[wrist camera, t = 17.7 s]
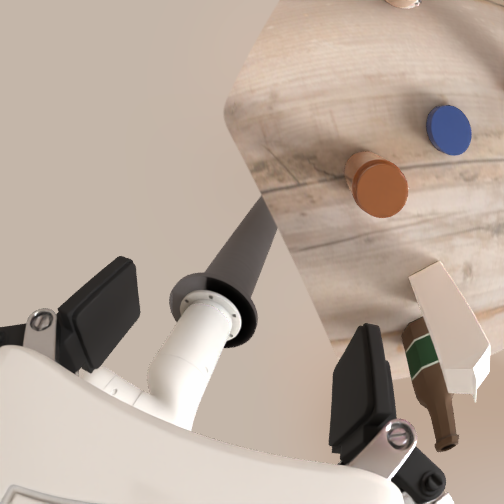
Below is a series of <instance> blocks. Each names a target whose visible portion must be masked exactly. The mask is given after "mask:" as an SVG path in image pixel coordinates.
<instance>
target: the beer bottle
mask: <svg viewBox="0 0 504 504" xmlns="http://www.w3.org/2000/svg"><path fill="white" fill-rule="evenodd" d="M402 340H403V345H404V349H405V353H406V357H407V361H408V366H409V371H410V375H411V380H412V384H413V387H414V391H415V394H416V397H417V399H418V401H419V402H420V404H421V405H423V406H424V407H425V408H427V409H428V411H429V414H430V416H431V420H432V424H433V429H434V433H435V438H436V444H435V448H436V451H437V452H443V451H447V450H449V449H451V448H453V447H454V446H456V445H457V444H458V439H459V435H457V434H456V428H455V420H454V413H453V407H452V397H453V395H454V393H448V390H447V386H446V383H445V379H444V376H443V372H442V369H441V366H440V363H439V359H438V356H437V353H436V350H435V347H434V345H433V342H432V339H431V336H430V333H429V331H428V328H427V325H426V323H425V320H424V318H423V317H422V318H420V319H417V320H415V321H413V322H411V323H409V325H408V326H407V328H406V329H405V331H404V332H403V334H402Z"/></svg>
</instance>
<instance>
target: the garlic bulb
mask: <svg viewBox="0 0 504 504" xmlns="http://www.w3.org/2000/svg"><path fill="white" fill-rule="evenodd" d="M385 1H386V2H388V3H389V4H391V5H393V6H395V7H398V8H406V9H408V8H413V7H416V6H419V5H420V3H421V2H422V1H421V0H385Z"/></svg>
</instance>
